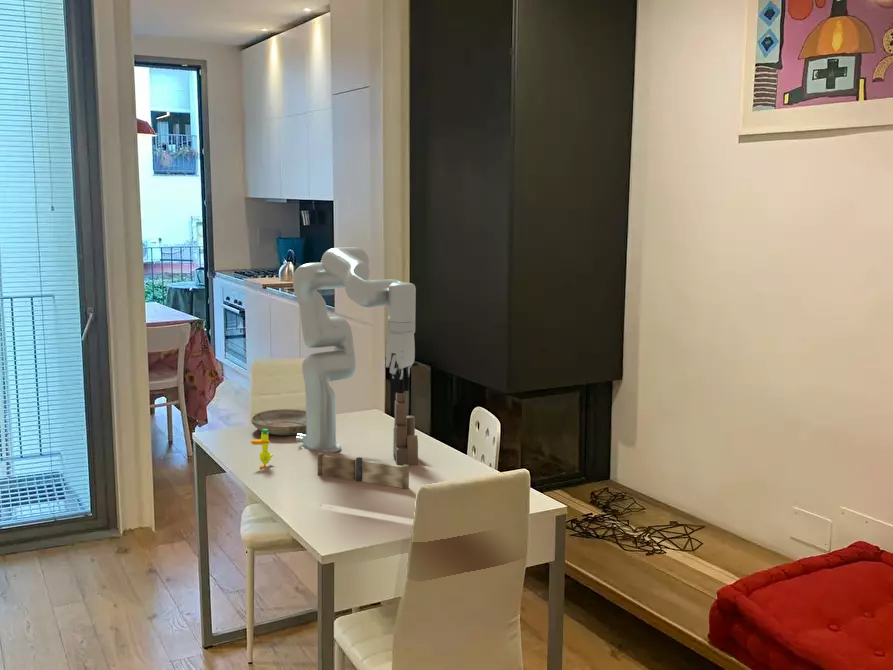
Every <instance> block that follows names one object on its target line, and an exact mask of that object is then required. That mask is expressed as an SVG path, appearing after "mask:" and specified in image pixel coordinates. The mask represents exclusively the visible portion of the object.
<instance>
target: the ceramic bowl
mask: <svg viewBox="0 0 893 670" xmlns="http://www.w3.org/2000/svg"><path fill="white" fill-rule="evenodd" d="M251 424H252V425H253V426H254V427H255V428H256V429H257V430H259V431H260V432H263V429H268V435H275V436H293V435H297V434H298V433H300V434H306V410H303V409H291V408H289V409H288V408H284V409H283V408H282V409H281V408H279V409H271V410H270V409H269V410H265V411H259V412H258V413H255V414H254V415H252V417H251Z"/></svg>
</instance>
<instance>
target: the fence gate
mask: <svg viewBox="0 0 893 670" xmlns="http://www.w3.org/2000/svg"><path fill="white" fill-rule="evenodd" d="M361 482H363V483H370V484H377V485H382V486H389V487H394V488H395V487H396V488H401V489H403V490H408V489H410V465H403V466H400V465H396V464H391V463H385V462H379V461H372V460H365V459H364V460H362V481H361Z"/></svg>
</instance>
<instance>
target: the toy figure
mask: <svg viewBox="0 0 893 670" xmlns="http://www.w3.org/2000/svg"><path fill="white" fill-rule="evenodd" d="M260 432H261V435H260V438H259V439H252V440H250V444H252V445H255V446H256V445H260V446H261V449H262V450H261V452H260V454H259V460H260V462H261V463H262V465H259V470H263V469H265V468H267V465H266V464H269V462H270V460H271V459H272V457H273V456H274V455H275V454H274V453H270V452H269V450H268V449H269V444H271V443H270V440H269V434H268V429H263V431H260Z"/></svg>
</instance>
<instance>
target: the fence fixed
mask: <svg viewBox="0 0 893 670" xmlns="http://www.w3.org/2000/svg"><path fill="white" fill-rule="evenodd" d="M362 465H363V457H356V458H355V459H353V458H352V459H351V458H344V457H339V456H338V457H337V456H332V455H325V454H324V453H322V452H319V453H317V476H324V477H330V478H336V479H343V480H349V481H356V482H358V483H359V482H362Z"/></svg>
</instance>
